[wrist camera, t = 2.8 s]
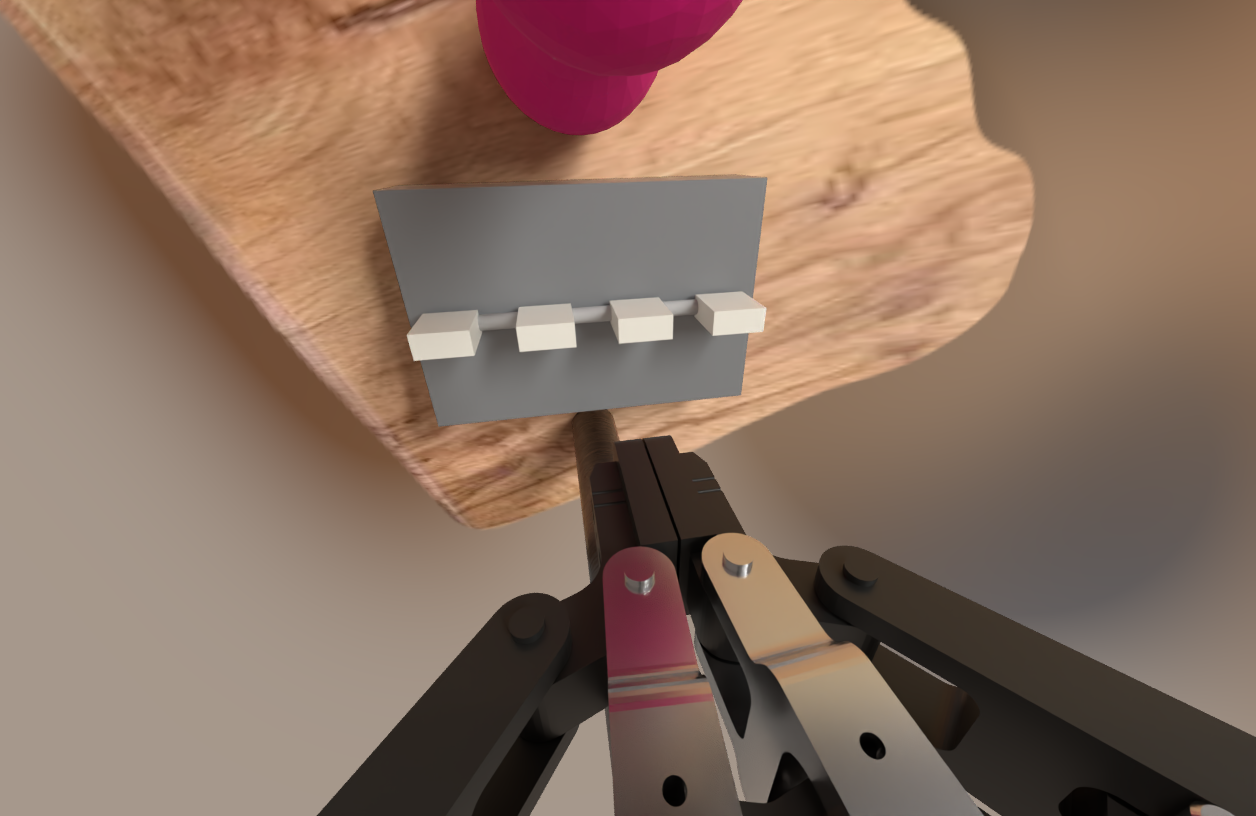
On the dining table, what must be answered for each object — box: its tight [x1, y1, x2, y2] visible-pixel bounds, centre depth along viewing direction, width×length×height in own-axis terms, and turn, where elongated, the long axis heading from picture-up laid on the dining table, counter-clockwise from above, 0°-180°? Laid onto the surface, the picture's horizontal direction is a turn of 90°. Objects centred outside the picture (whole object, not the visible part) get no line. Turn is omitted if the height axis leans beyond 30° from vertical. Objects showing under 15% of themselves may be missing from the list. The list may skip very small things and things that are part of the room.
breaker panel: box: [373, 175, 767, 426], centre depth 25 cm, size 12×18×4 cm, turn 91°
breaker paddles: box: [407, 291, 766, 361], centre depth 22 cm, size 1×16×3 cm, turn 91°
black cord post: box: [572, 409, 620, 776], centre depth 22 cm, size 3×3×22 cm
